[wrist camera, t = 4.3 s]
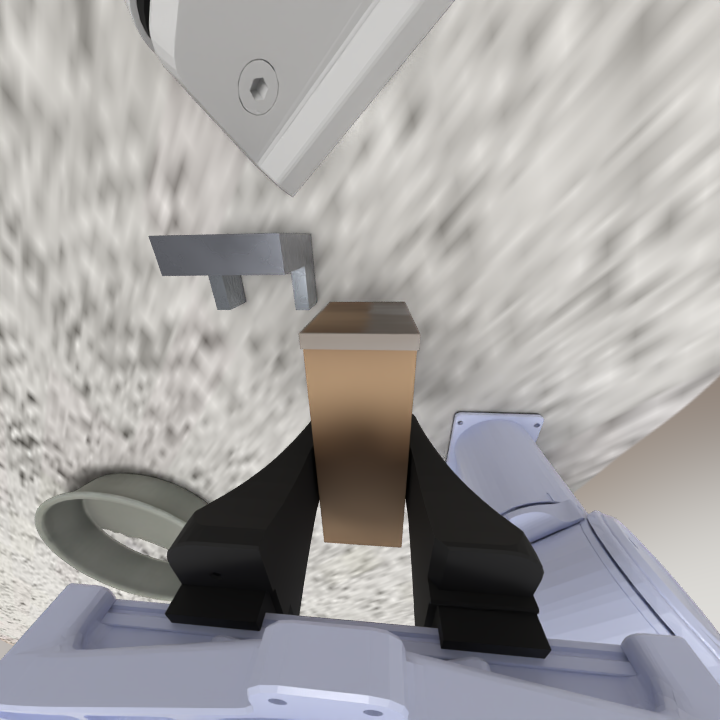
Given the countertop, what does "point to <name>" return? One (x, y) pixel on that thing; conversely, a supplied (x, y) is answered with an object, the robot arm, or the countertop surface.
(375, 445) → the block
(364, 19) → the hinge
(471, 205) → the countertop surface
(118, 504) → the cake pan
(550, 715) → the robot arm
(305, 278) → the grey metal bench
